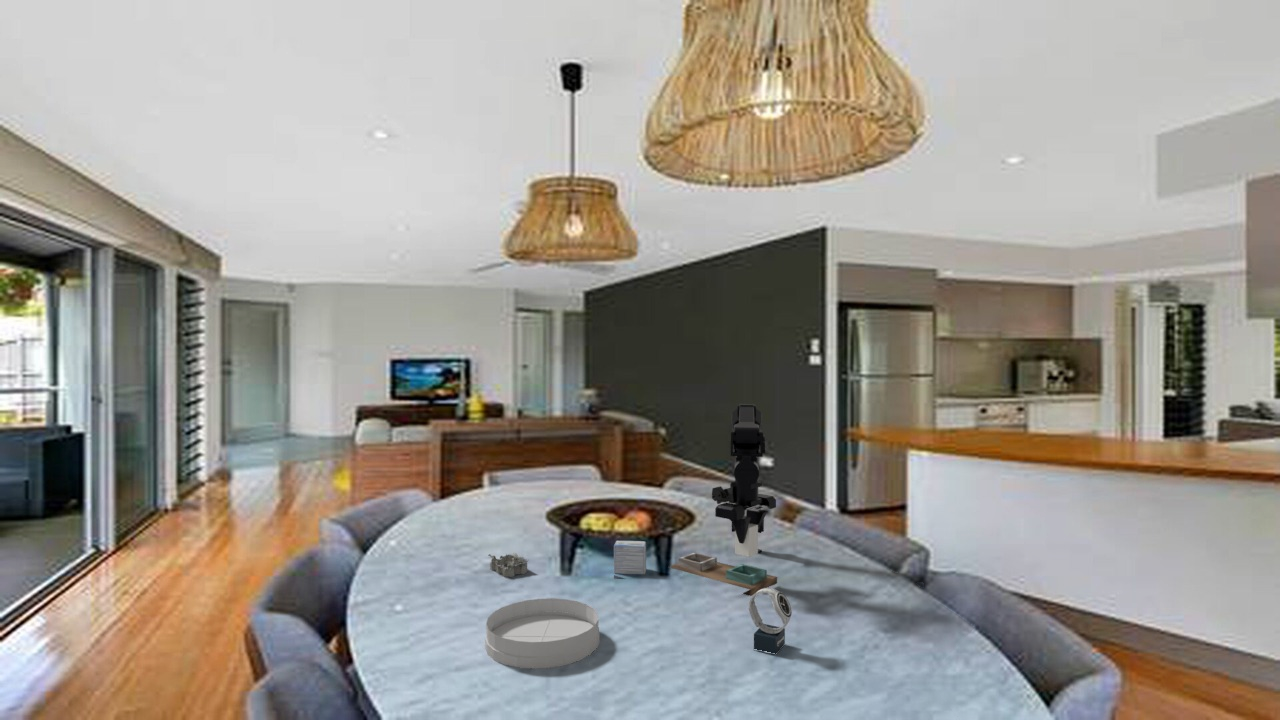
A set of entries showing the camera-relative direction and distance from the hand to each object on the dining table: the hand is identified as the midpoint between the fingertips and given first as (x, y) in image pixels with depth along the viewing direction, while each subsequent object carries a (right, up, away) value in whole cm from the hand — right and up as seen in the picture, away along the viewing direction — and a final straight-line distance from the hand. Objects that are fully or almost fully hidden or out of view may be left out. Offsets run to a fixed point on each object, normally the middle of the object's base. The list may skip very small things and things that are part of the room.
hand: (746, 541), depth 165 cm
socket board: (-6, -11, +5) cm, 13 cm away
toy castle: (-60, -11, +11) cm, 62 cm away
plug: (0, -3, 0) cm, 3 cm away
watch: (-1, -11, -35) cm, 37 cm away
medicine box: (-29, -11, +6) cm, 31 cm away
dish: (-45, -11, -33) cm, 57 cm away
